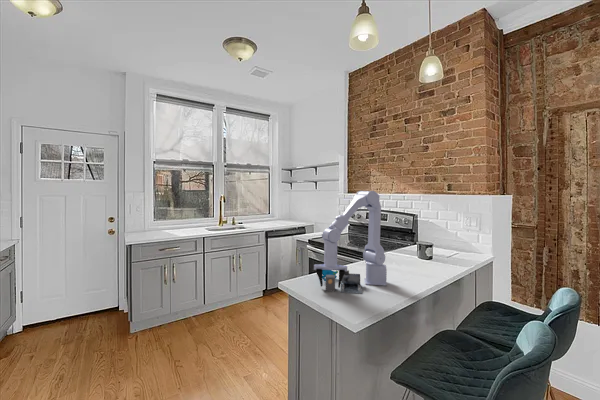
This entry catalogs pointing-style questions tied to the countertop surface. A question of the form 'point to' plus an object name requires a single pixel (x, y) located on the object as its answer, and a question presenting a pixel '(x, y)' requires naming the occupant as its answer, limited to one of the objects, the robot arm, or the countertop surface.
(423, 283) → the countertop surface
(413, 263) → the countertop surface
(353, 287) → the motor mount
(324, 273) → the gear
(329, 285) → the grey knobbed block
